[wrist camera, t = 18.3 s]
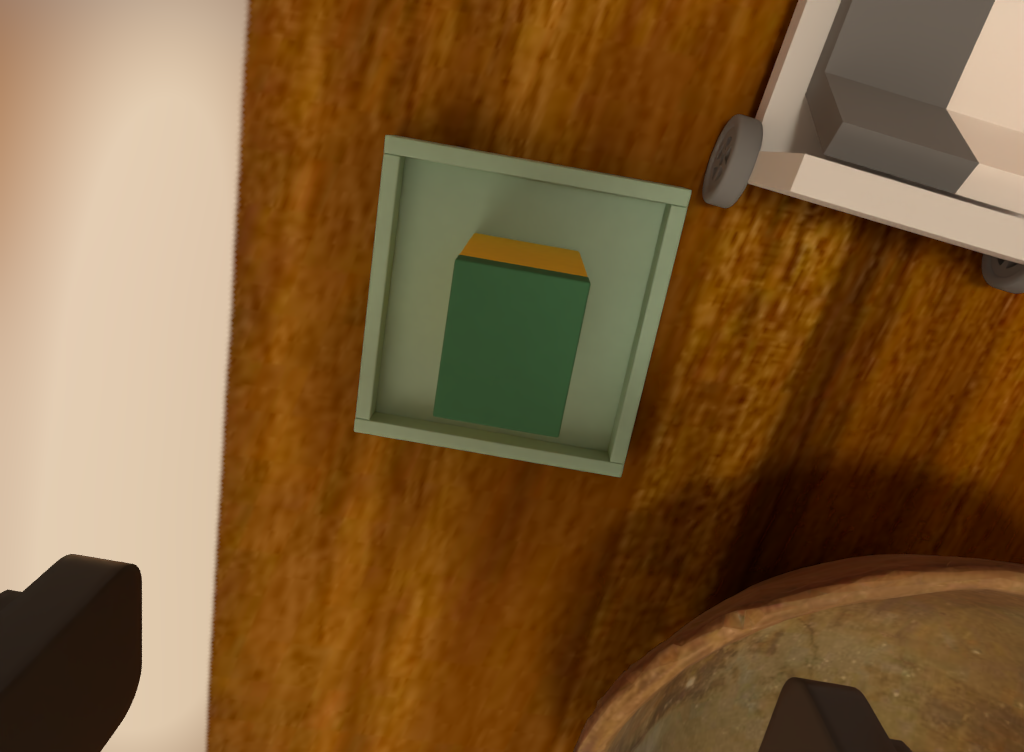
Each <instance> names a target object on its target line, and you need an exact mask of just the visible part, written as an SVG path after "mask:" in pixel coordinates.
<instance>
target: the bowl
mask: <svg viewBox="0 0 1024 752" xmlns="http://www.w3.org/2000/svg"><path fill="white" fill-rule="evenodd" d="M792 677H798V678H804V679H810V680H816V681H822V682H828V683H834V684H840V685H846V686H852V687H855V688H857V689H858V690H860V691H861V692H862V693H863V695H864V696H865V698H866V699H867V701H868V702H869V704H870V706H871V708H872V709H873V711H874V713H875V714H876V716H877V718H878V720H879V721H880V723H881V725H882V727H883V728H884V730H885V732H886V733H887V735H888V737H889V739H895V740H901V741H903V742H904V743H905V744H906V745H907V746H908V747H909V748H910V749H911V750H912V751H913V752H1024V564H1018V563H1011V562H1003V561H996V560H988V559H980V558H964V557H956V556H938V555H919V554H881V555H869V556H861V557H851V558H846V559H841V560H836V561H831V562H826V563H821V564H818V565H814V566H809V567H805V568H800V569H797V570H793V571H790V572H787V573H784V574H781V575H778V576H775V577H772V578H770V579H767V580H764V581H762V582H759V583H757V584H754V585H752V586H750V587H748V588H747V589H745V590H743V591H741V592H739V593H738V594H736V595H734V596H732V597H730V598H728V599H726V600H724V601H723V602H721V603H719V604H717V605H716V606H714V607H712V608H710V609H709V610H707V611H705V612H704V613H702V614H701V615H699V616H698V617H696V618H695V619H693V620H692V621H690V622H689V623H688V624H686V625H685V626H684V627H682V628H681V629H680V630H679V631H677V632H676V633H675V634H674V635H672V636H671V637H670V638H669V639H668V640H666V641H664V642H662V643H660V644H659V645H658V646H657V647H655V648H654V649H652V650H650V651H649V652H648V653H647V654H646V655H645V656H644V657H642V658H641V659H640V660H638V661H637V662H635V663H633V664H631V665H630V667H629V668H628V670H627V671H624V672H623V673H622V674H621V675H620V676H619V678H618V679H617V680H615V682H614V684H613V685H612V686H611V687H610V689H609V690H608V691H607V692H606V694H605V695H604V696H603V697H602V698H601V699H599V700H598V701H597V706H596V708H595V710H594V712H593V713H592V715H591V716H590V717H589V718H588V719H587V721H586V723H585V726H584V728H583V730H582V731H581V734H580V737H579V740H578V742H577V744H576V746H575V749H574V751H573V752H758V751H759V748H760V746H761V743H762V740H763V738H764V735H765V732H766V730H767V727H768V724H769V722H770V719H771V716H772V713H773V711H774V708H775V705H776V703H777V700H778V697H779V695H780V692H781V690H782V687H783V685H784V684H785V682H786V681H787V680H788V679H790V678H792Z"/></svg>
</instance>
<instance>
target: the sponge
mask: <svg viewBox="0 0 1024 752" xmlns="http://www.w3.org/2000/svg"><path fill="white" fill-rule="evenodd" d="M590 285H591V284H590V280H589V278H588V276H587V273H586V270H585V267H584V264H583V261H582V258H581V255H580V252H578V251H575V250H569V249H563V248H558V247H552V246H546V245H541V244H535V243H529V242H524V241H518V240H512V239H507V238H501V237H495V236H490V235H484V234H478V233H474V234H473V236H472V237H471V238H470V240H469V241H468V243H467V244H466V246H465V247H464V249H463V250H462V251H461V253H460V254H459V255H458V256H457V258H456V259H455V263H454V270H453V276H452V283H451V290H450V297H449V304H448V311H447V318H446V325H445V332H444V339H443V346H442V353H441V360H440V367H439V374H438V381H437V388H436V395H435V402H434V409H433V416H434V417H440V418H445V419H451V420H457V421H463V422H469V423H475V424H480V425H486V426H492V427H498V428H504V429H510V430H515V431H521V432H527V433H533V434H539V435H545V436H550V437H556V438H557V437H559V434H560V429H561V424H562V420H563V415H564V410H565V405H566V400H567V396H568V391H569V386H570V381H571V376H572V372H573V367H574V362H575V357H576V352H577V348H578V343H579V338H580V333H581V328H582V324H583V319H584V314H585V309H586V304H587V300H588V295H589V290H590Z"/></svg>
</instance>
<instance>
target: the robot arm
mask: <svg viewBox="0 0 1024 752" xmlns="http://www.w3.org/2000/svg"><path fill="white" fill-rule="evenodd" d="M141 667H142V578H141V573H140V570H139V568H138V567H137V566H136V565H134V564H129V563H124V562H118V561H111V560H106V559H100V558H94V557H88V556H82V555H76V554H70V555H66V556H64V557H63V558H61V559H60V560H58V561H57V562H56V563H55V564H54V565H52V566H51V567H50V568H49V569H48V570H47V571H46V572H45V573H43V574H42V575H41V576H40V577H39V578H38V579H37V580H36V581H34V582H33V583H32V584H31V585H30V586H29V587H28V588H26V589H25V590H24V591H23V592H18V591H12V590H6V591H4V592H2V593H0V752H100V751H101V750H102V749H103V747H104V746H105V745H106V743H107V742H108V740H109V739H110V738H111V736H112V735H113V733H114V732H115V730H116V729H117V728H118V726H119V725H120V723H121V722H122V720H123V719H124V717H125V715H126V714H127V712H128V710H129V708H130V706H131V703H132V701H133V699H134V696H135V693H136V691H137V687H138V684H139V680H140V675H141V669H142V668H141ZM758 752H913V751H912V750H911V749H910V748H909V747H908V746H907V745H906V744H905V743H904V742H903V741H901V740H895V739H889V737H888V735H887V733H886V732H885V730H884V728H883V727H882V725H881V723H880V721H879V720H878V718H877V716H876V714H875V713H874V711H873V709H872V708H871V706H870V704H869V702H868V701H867V699H866V698H865V696H864V695H863V693H862V692H861V691H860V690H858V689H857V688H855V687H852V686H846V685H840V684H834V683H828V682H822V681H816V680H810V679H804V678H798V677H792V678H790V679H788V680H787V681H786V682H785V684H784V685H783V687H782V690H781V692H780V695H779V697H778V700H777V703H776V705H775V708H774V711H773V713H772V716H771V719H770V722H769V724H768V727H767V730H766V732H765V735H764V738H763V740H762V743H761V746H760V748H759V751H758Z"/></svg>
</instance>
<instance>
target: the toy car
mask: <svg viewBox="0 0 1024 752" xmlns="http://www.w3.org/2000/svg"><path fill="white" fill-rule="evenodd" d="M747 184H751V185H754V186H758V187H761V188H764V189H768V190H771V191H774V192H778V193H781V194H785V195H788V196H791V197H795V198H798V199H801V200H805V201H808V202H811V203H815V204H818V205H822V206H825V207H828V208H832V209H835V210H838V211H842V212H845V213H848V214H852V215H855V216H859V217H862V218H865V219H869V220H872V221H875V222H879V223H882V224H885V225H889V226H892V227H896V228H899V229H902V230H906V231H909V232H912V233H916V234H919V235H922V236H926V237H929V238H933V239H936V240H939V241H943V242H946V243H949V244H953V245H956V246H959V247H963V248H966V249H970V250H973V251H976V252H980V253H983V257H982V274H983V277H984V279H985V281H986V282H987V283H988V284H989V285H990V286H992V287H994V288H997V289H1000V290H1003V291H1007V292H1010V293H1024V0H798V3H797V6H796V8H795V11H794V14H793V17H792V19H791V22H790V25H789V27H788V30H787V33H786V36H785V38H784V41H783V44H782V46H781V49H780V52H779V54H778V57H777V60H776V63H775V65H774V68H773V71H772V73H771V76H770V79H769V82H768V84H767V87H766V90H765V92H764V95H763V98H762V101H761V103H760V106H759V109H758V111H757V114H756V117H755V119H754V118H751V117H748V116H744V115H741V114H737V115H735V116H733V117H732V118H731V119H730V120H729V121H728V123H727V124H726V125H725V127H724V129H723V130H722V132H721V134H720V136H719V138H718V140H717V142H716V144H715V147H714V149H713V152H712V154H711V157H710V160H709V163H708V166H707V170H706V173H705V177H704V183H703V199H704V201H705V202H706V203H708V204H712V205H715V206H719V207H722V208H729V207H731V206H732V205H733V204H734V203H735V202H736V201H737V200H738V199H739V197H740V196H741V194H742V193H743V191H744V190H745V188H746V186H747Z"/></svg>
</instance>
